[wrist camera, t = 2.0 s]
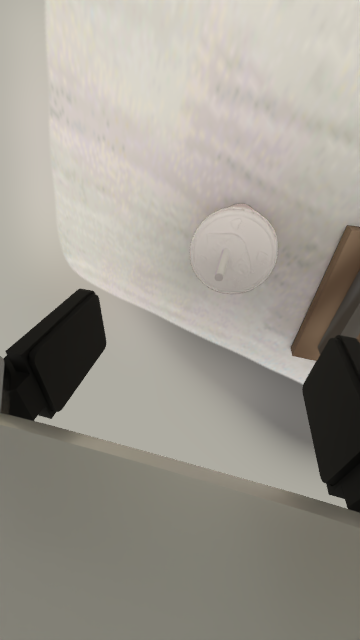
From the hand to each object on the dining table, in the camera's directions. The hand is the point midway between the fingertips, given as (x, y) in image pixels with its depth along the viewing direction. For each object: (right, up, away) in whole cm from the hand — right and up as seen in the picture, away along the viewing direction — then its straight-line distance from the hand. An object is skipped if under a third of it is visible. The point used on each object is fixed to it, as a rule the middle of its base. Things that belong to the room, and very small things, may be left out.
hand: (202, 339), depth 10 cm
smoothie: (+5, +11, +15) cm, 20 cm away
